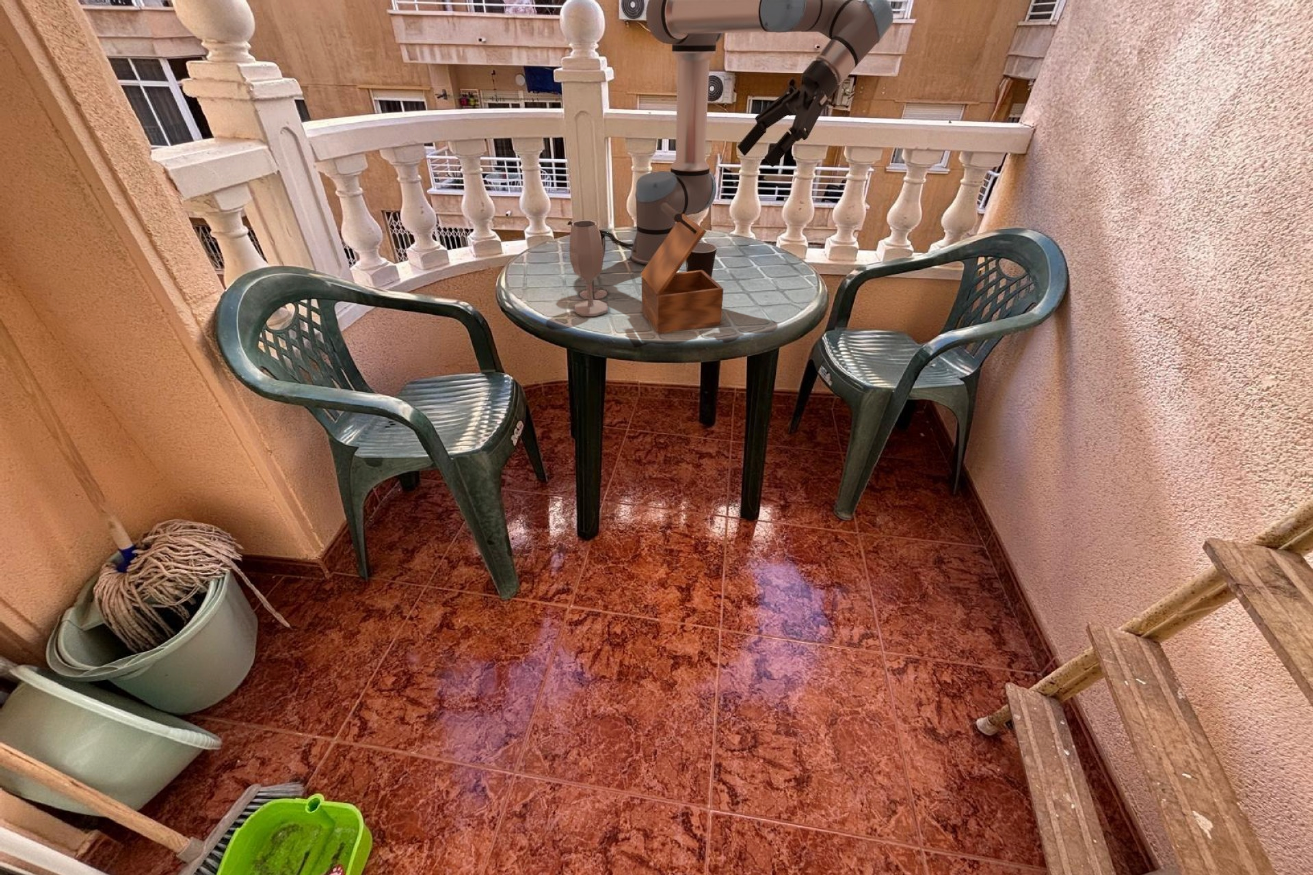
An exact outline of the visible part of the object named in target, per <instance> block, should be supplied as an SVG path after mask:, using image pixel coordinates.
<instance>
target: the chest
mask: <svg viewBox="0 0 1313 875" xmlns="http://www.w3.org/2000/svg"><path fill="white" fill-rule="evenodd" d="M723 298H724V287H722V286H721V285H720V284H719V283H718V282H717V281H716V280H714V279H713V277H710V276H709V275H708V274H707V273H705V272H704V271H703V270H697V271H689V272H686V271H682V272H677V273H676V274H675V275H674V277H673V278H672V280H671V281H670V282H669V284H668V285H667V286H666V288H665V289H664V291H663V292H662V293H661V295H660V296H659V295H657V294H656V293H655V291H654V290H653V289H652V288H651V287H650V285H649V284H648V283H647V282H646V281H645V279H644V278H643V277H642V276H641V312H642V313H643V316H645V319H647V320H648V322H649V324H650V325H651V326H652V328H653V329H654V330H655V332H656V333H657V334H658V335H660V334H666V333H673V332H679V331H686V330H687V331H688V330H693V329H700V328H707V327H713V326H714V327H715V326H719V325H721V324H722V313H723Z"/></svg>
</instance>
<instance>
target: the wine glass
mask: <svg viewBox="0 0 1313 875" xmlns="http://www.w3.org/2000/svg"><path fill="white" fill-rule="evenodd" d="M600 236H601V241H602V246H603V260H604V258H605V254H606V234H603V233H600ZM592 294H593V300H599V299H602V298H605V297H606V296H607V294H608V292H607V291H606V290H604V289H601V288H595V279H594V280H593V281H592ZM579 296H580V297H581V298H583V299H585V300H588V299H587V289H584V290H582V291H581V292H580V293H579Z"/></svg>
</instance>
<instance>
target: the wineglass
mask: <svg viewBox="0 0 1313 875" xmlns="http://www.w3.org/2000/svg"><path fill="white" fill-rule="evenodd" d="M571 222H572V226H571V225H570V232H569V250H568V252H569V260H570V264H571V267H572V270H573V273H574V274H575V275H577V276H578V277H579V278H580V279H581V280H583V281H584V282H585V285H586V290H587V299H585V300H583V301H580V302H577V303H575V304H574V310H573V312H574V313H575V314H577V315H579V316H581V317H597V316H600V315H603V314H605V313H608V311H609V310H608V304H607V303H606V302H603V301H602V300H599V299H593V294H592V281H593V280H594V281H595V280H596V279H597V277H599V276H600V275H601V274H602V271H603V266H604V259H603V246H602V241H601V236H600V231H599V230H600V229H599V228H600V227H599V226H598V223H597V221H595V220H592V219H580V220H574V221H571Z"/></svg>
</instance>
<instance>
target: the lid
mask: <svg viewBox="0 0 1313 875" xmlns="http://www.w3.org/2000/svg"><path fill="white" fill-rule="evenodd" d="M661 210H662V211H663V212H664V213H665V214H667V215H668V216H669V217H670V218H672V219H673V220H674V221H675V222H676V224H675V226H674V227H673V228H672V230H671V231H670V233H669V234H668V236H667V237H666V238H665V240H664V241H663V243H662V244H661V246H660V247H659V248H658V250H657V251H656V253H655V254H654V256H653V257H652V258H651V260H650V261H649V263H648V264H647V265H645V267H644V268H643V269H642V271H641V273H640V276H641V278H642V277H643V278H644V279H645V281H646V282H647V283H648V284H649V285H650V287H651V288H652V289H653V290H654V291H655V293H656V294H657V295H659V296H660V295H661V293H662V292H663V291H664V289H665V288H666V286H667V285H668V284H669V282H670V281H671V280H672V278H673V277H674V275H675V274H676V273H678V271H679V270H680V269H681V267H682V266H683V264H684V263H686V259H687V258H688V256H689V255H690V253H691V252H692V251H693V249H694V248H695V247H696V245H697V244H698V242H701V240H702V238H703V237H704V235H705V234H706V233H707V230H706V229H705V228H703V227H702V226H701V225H699V224H698V223H697V222H695V221H694V220H693V219H691V218H690V217H688V215H687V216H686V215H684V214H682V215H681V214H680V213H679V212H677V211H676V210H675V209H673V208H672V207H671V206H669V205H668V204H667V203H663V204H662V205H661Z"/></svg>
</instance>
